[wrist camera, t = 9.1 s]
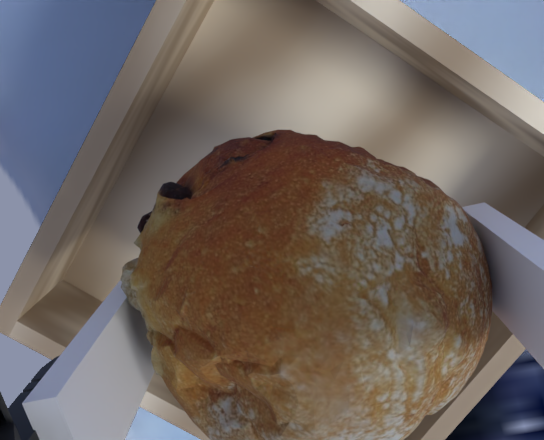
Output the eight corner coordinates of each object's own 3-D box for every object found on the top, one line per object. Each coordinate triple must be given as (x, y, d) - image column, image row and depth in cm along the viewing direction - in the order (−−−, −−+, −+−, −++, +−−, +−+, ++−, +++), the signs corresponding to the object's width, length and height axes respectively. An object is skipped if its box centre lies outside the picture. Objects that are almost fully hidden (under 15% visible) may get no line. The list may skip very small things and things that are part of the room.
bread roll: (291, 366, 22) (386, 556, 15) (61, 300, 16) (55, 555, 10) (437, 185, 19) (624, 319, 13) (224, 33, 14) (363, 134, 7)
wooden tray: (582, 163, 21) (668, 189, 17) (351, 443, 26) (366, 527, 21) (237, -76, 19) (220, -126, 14) (49, 275, 24) (-11, 326, 19)
